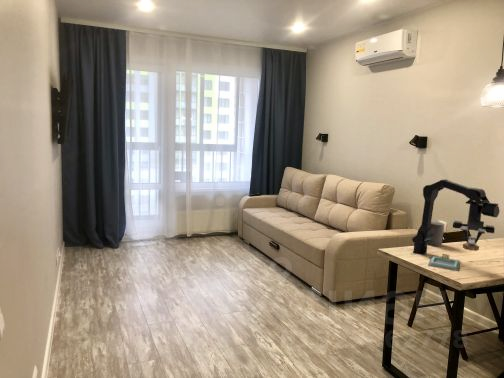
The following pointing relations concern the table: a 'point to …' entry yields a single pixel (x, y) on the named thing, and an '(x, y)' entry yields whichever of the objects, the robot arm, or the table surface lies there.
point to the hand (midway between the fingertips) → (471, 243)
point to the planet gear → (471, 244)
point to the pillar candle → (436, 234)
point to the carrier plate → (444, 262)
